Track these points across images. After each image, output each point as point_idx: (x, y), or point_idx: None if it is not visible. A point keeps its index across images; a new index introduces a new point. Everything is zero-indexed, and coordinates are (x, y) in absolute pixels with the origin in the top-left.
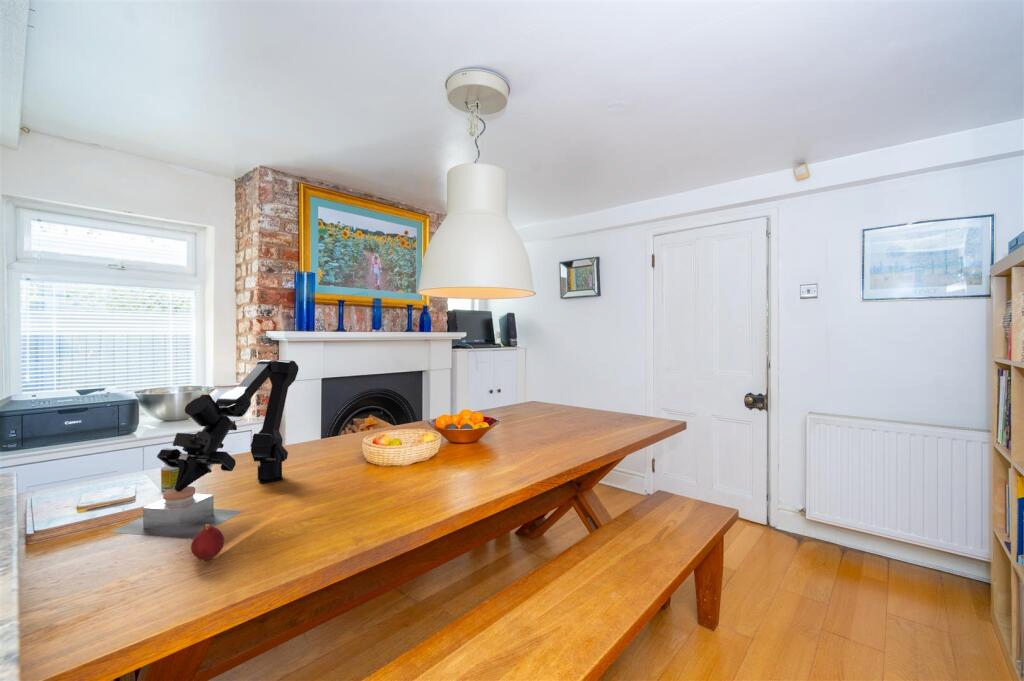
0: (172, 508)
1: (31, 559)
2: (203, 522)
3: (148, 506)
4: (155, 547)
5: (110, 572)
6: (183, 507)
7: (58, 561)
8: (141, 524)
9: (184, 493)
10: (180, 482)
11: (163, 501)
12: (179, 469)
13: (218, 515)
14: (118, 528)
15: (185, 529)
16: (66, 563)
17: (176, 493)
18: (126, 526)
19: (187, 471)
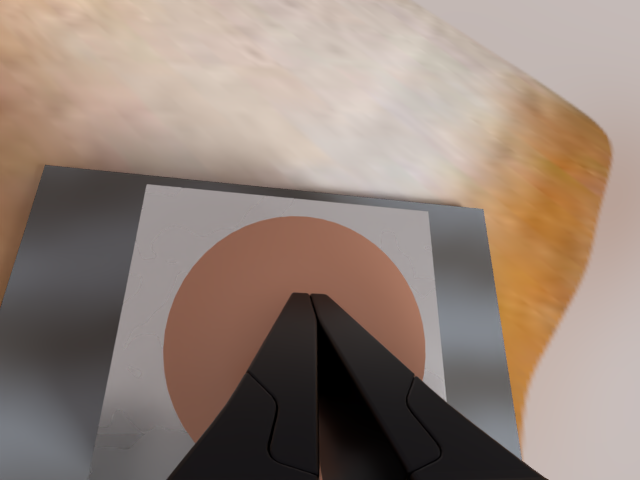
0: (227, 209)
1: (517, 74)
2: (112, 351)
3: (412, 228)
4: (202, 141)
5: (213, 3)
6: (159, 232)
7: (434, 62)
8: None
9: (197, 279)
10: (302, 323)
11: None
12: (499, 456)
13: (76, 475)
14: (479, 239)
15: None
16: (399, 52)
17: (274, 269)
18: (468, 260)
19: (291, 438)
